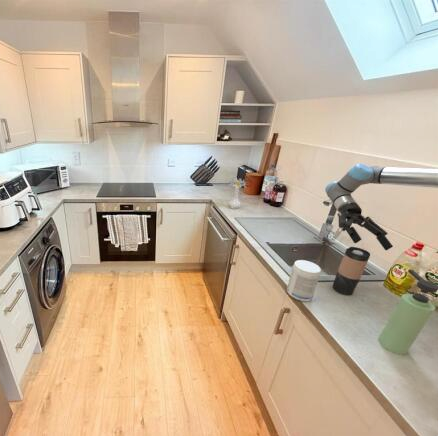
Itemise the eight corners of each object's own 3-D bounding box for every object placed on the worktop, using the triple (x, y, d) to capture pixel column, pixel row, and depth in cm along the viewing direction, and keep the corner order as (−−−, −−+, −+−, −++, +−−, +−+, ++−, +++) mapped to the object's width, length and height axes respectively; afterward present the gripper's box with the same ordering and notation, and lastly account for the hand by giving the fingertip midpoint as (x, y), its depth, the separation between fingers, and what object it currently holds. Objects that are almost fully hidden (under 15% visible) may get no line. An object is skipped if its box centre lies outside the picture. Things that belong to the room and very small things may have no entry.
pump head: (437, 298, 68) (442, 290, 67) (419, 295, 69) (424, 286, 68) (414, 277, 76) (419, 270, 75) (399, 275, 78) (403, 267, 76)
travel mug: (356, 297, 100) (374, 257, 92) (334, 293, 102) (350, 254, 94) (349, 286, 106) (365, 248, 98) (329, 282, 109) (343, 245, 101)
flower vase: (236, 203, 207) (241, 175, 197) (245, 211, 190) (251, 181, 181) (222, 203, 207) (226, 175, 197) (229, 211, 190) (234, 181, 180)
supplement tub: (317, 300, 99) (328, 271, 93) (298, 304, 96) (308, 275, 90) (298, 285, 107) (307, 258, 101) (280, 289, 105) (288, 261, 99)
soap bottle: (402, 341, 80) (432, 293, 72) (410, 358, 75) (443, 308, 66) (375, 333, 84) (401, 286, 75) (381, 348, 78) (409, 299, 70)
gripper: (365, 219, 111) (392, 256, 96) (316, 207, 109) (337, 243, 94) (379, 208, 105) (411, 245, 91) (328, 195, 104) (352, 232, 89)
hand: (373, 244), depth 93 cm, fingers open, 13 cm apart
